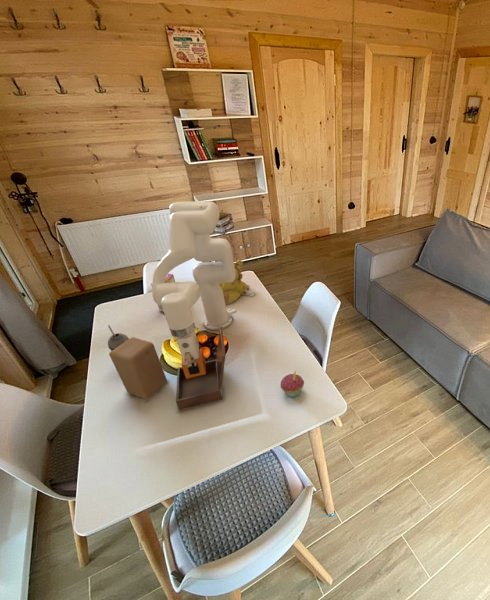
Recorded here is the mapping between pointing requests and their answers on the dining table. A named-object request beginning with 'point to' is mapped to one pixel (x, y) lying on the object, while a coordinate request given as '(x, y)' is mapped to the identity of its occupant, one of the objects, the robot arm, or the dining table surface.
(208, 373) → the chest
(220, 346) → the lid
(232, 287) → the giraffe plush
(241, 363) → the dining table surface
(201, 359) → the orange cube
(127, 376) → the wooden block
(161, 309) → the candy bar box
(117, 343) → the beverage cup
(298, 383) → the cupcake
